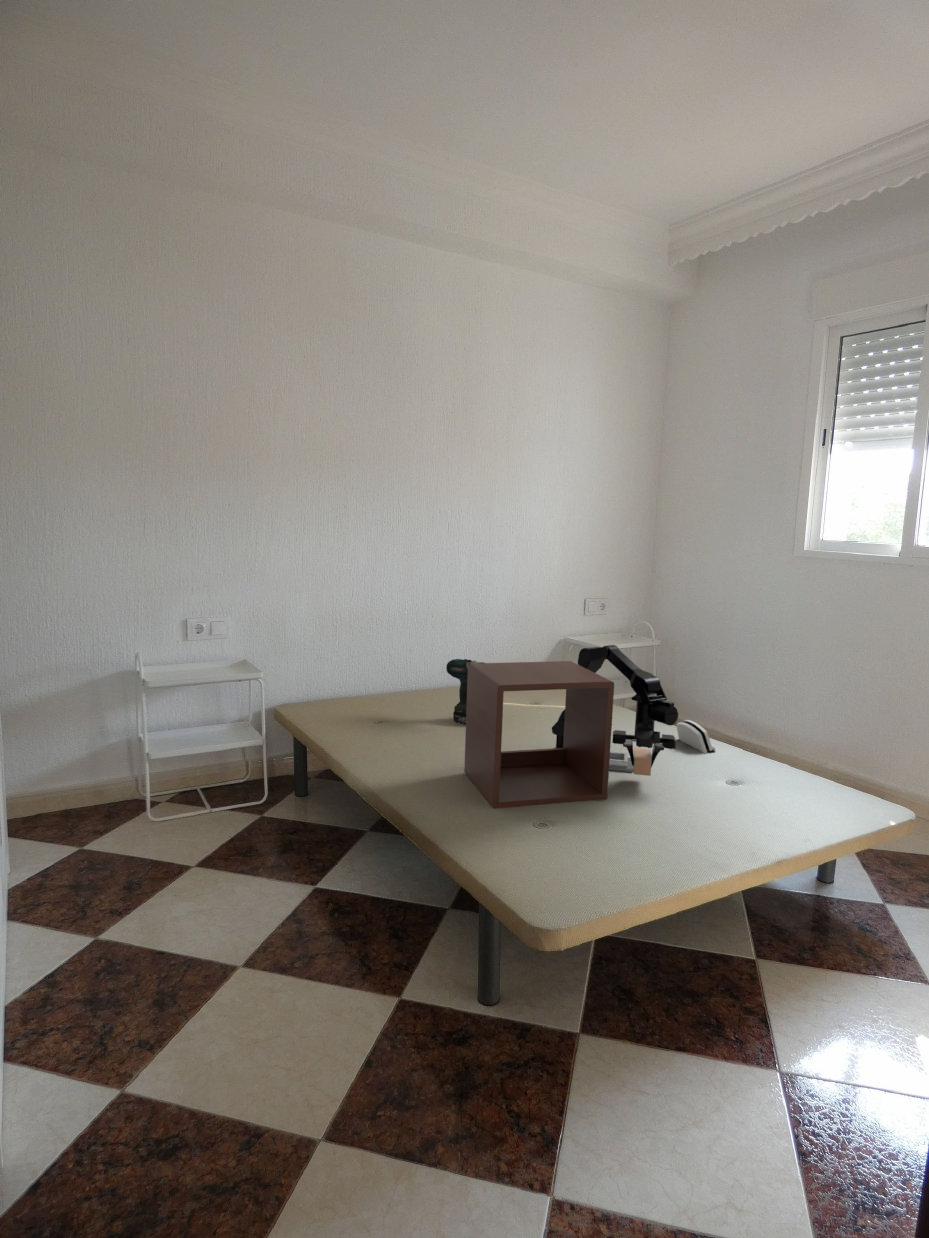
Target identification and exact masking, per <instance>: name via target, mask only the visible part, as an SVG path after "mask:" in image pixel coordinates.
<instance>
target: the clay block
mask: <svg viewBox="0 0 929 1238" xmlns="http://www.w3.org/2000/svg"><path fill="white" fill-rule="evenodd" d="M633 755H634V766H633V773H632V774H633V775H638V776H646V777H647V776H650V777H651V775H652V774H651V773H652V767H651V762H652V759H651V755H652V750H651V749H646V748H634V747H633Z"/></svg>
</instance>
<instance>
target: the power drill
mask: <svg viewBox="0 0 929 1238" xmlns="http://www.w3.org/2000/svg"><path fill="white" fill-rule="evenodd" d="M474 663H484V662H483V661H476V660H471V659H467V658H465V659H461V658H455V659H451V660H449V661H448V662H447V664H446V667H445V668H446V672H447V674H449V675H450V676H451V677H453V678H455V679H458V680H459V682H460V685H459V691H458V692H459V702H458V703H457V704H456V705H455V706H454V709H453V714H452V715H453V721H454V722H456V723H458V722H460V723H459V724H462V723H464V724H463V725H466V708H467V679H468V665H469V664H474ZM448 708H449V707H448V706H447V709H448Z"/></svg>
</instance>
